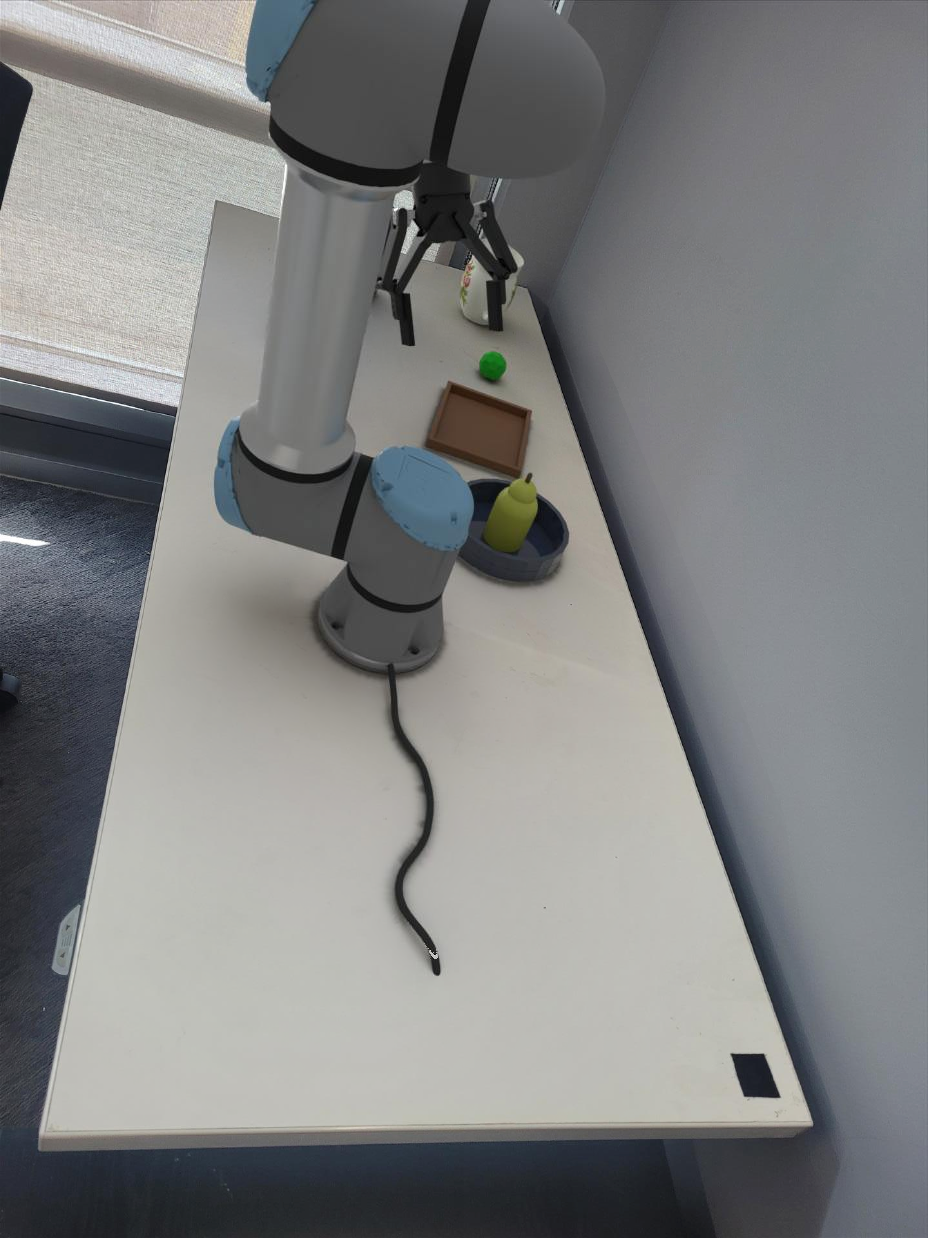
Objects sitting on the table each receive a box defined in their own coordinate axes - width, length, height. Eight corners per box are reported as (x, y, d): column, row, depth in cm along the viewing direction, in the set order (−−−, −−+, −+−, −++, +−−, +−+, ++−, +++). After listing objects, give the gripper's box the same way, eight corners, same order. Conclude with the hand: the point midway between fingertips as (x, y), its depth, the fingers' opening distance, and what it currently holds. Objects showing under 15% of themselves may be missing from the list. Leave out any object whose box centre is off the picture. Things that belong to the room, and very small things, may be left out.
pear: (519, 557, 117) (550, 492, 109) (480, 544, 117) (507, 478, 108) (523, 532, 122) (553, 468, 113) (485, 519, 121) (512, 454, 113)
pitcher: (457, 334, 160) (478, 266, 150) (449, 291, 172) (468, 226, 162) (510, 347, 163) (534, 281, 153) (498, 304, 175) (520, 240, 166)
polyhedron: (506, 381, 153) (515, 358, 149) (489, 386, 149) (497, 363, 146) (487, 367, 154) (495, 344, 151) (470, 371, 151) (478, 348, 148)
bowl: (553, 599, 114) (565, 577, 111) (433, 559, 112) (442, 535, 109) (561, 524, 127) (572, 502, 124) (453, 487, 125) (461, 464, 122)
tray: (517, 481, 131) (521, 471, 130) (424, 449, 130) (428, 438, 128) (528, 420, 145) (532, 410, 144) (444, 390, 144) (448, 380, 142)
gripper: (508, 157, 111) (516, 322, 120) (335, 169, 101) (358, 348, 111) (539, 152, 105) (544, 327, 114) (357, 164, 95) (380, 354, 105)
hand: (453, 337), depth 112 cm, fingers open, 13 cm apart
